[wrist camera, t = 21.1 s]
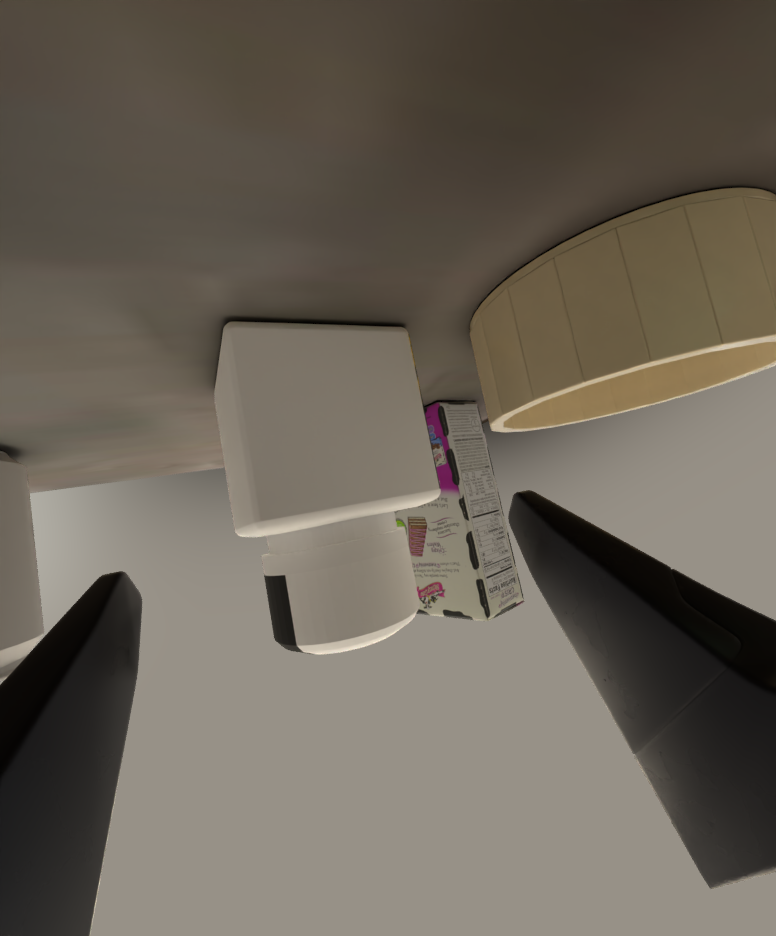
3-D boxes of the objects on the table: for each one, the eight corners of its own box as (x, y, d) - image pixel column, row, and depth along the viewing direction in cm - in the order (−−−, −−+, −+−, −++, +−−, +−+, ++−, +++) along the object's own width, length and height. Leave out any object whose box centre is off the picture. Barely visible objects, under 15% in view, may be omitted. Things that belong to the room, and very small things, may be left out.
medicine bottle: (349, 385, 23) (390, 601, 22) (212, 391, 20) (251, 645, 18) (410, 323, 16) (472, 624, 15) (222, 316, 13) (282, 697, 12)
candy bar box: (397, 435, 42) (429, 597, 40) (357, 437, 39) (390, 612, 37) (482, 400, 33) (527, 604, 31) (439, 399, 30) (487, 626, 28)
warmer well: (620, 165, 10) (667, 339, 10) (857, 204, 14) (898, 329, 13) (427, 355, 20) (445, 442, 20) (594, 346, 24) (612, 419, 24)
